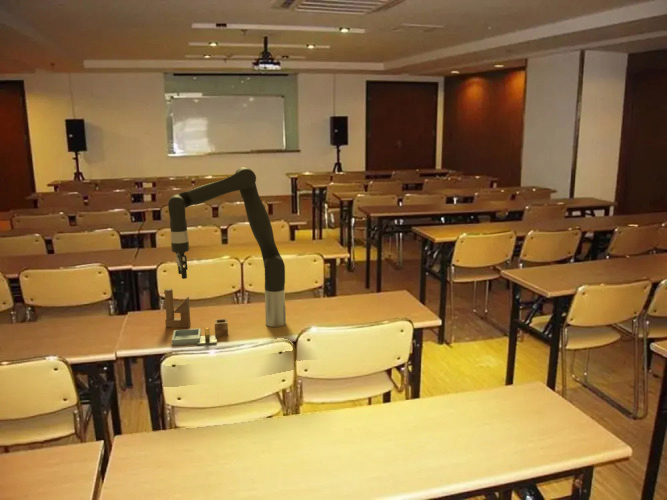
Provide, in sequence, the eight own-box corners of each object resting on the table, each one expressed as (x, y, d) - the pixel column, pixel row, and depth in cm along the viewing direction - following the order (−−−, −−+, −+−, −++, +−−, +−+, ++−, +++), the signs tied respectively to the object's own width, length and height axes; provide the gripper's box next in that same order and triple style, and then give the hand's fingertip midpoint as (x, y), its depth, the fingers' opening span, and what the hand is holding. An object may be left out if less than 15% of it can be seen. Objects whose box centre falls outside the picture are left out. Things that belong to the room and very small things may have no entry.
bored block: (227, 331, 256) (227, 318, 255) (228, 335, 251) (227, 322, 249) (215, 331, 255) (214, 319, 254) (215, 336, 250) (214, 323, 248)
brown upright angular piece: (188, 327, 260) (186, 290, 256) (165, 327, 260) (162, 290, 256) (190, 324, 263) (188, 288, 259) (167, 324, 263) (165, 288, 259)
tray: (200, 333, 253) (200, 328, 252) (199, 343, 242) (199, 338, 241) (174, 335, 251) (174, 330, 250) (172, 345, 240) (171, 340, 239)
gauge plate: (217, 337, 249) (216, 324, 247) (216, 344, 241) (216, 331, 240) (198, 338, 247) (197, 325, 246) (197, 345, 240) (197, 332, 238)
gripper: (191, 242, 241) (194, 279, 245) (185, 236, 254) (188, 271, 258) (173, 244, 238) (176, 281, 242) (168, 238, 251) (171, 273, 255)
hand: (182, 276), depth 250 cm, fingers open, 8 cm apart
